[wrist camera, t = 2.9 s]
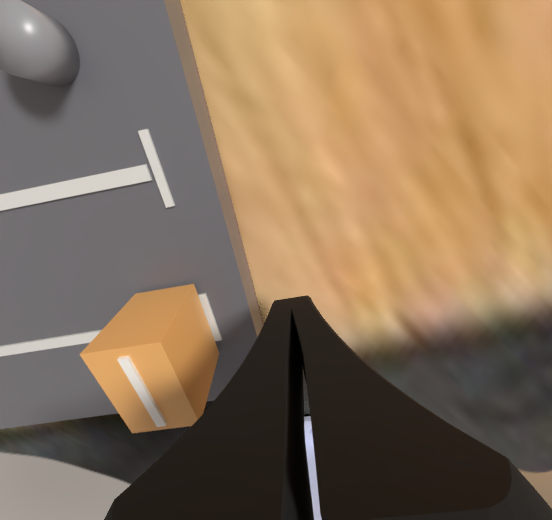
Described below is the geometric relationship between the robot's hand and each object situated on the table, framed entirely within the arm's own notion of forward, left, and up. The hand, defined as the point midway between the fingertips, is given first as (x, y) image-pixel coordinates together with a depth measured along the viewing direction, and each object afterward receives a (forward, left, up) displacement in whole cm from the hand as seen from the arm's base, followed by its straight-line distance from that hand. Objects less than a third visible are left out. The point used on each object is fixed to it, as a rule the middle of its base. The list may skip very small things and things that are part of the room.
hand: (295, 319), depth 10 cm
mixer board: (+3, +11, -3) cm, 12 cm away
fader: (0, +5, -1) cm, 5 cm away
